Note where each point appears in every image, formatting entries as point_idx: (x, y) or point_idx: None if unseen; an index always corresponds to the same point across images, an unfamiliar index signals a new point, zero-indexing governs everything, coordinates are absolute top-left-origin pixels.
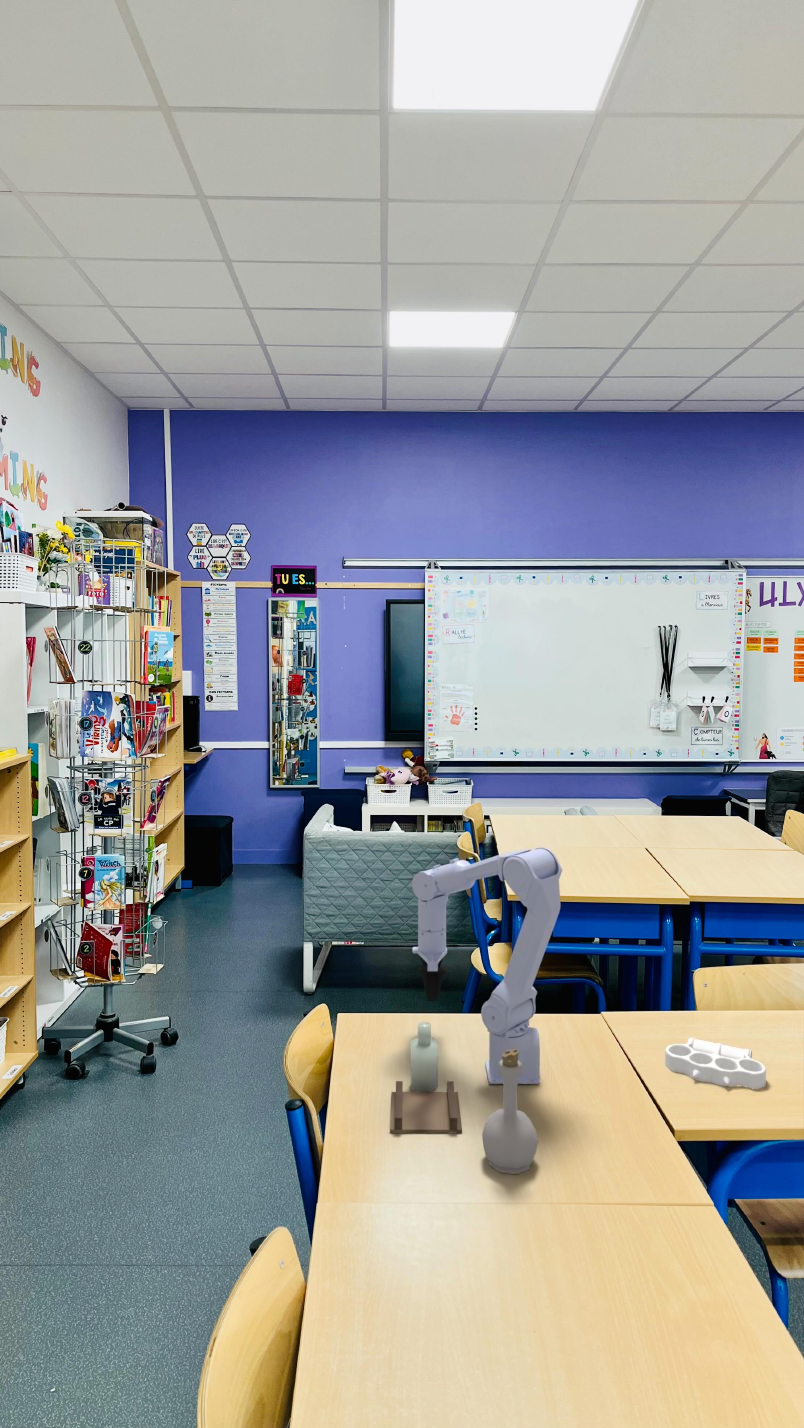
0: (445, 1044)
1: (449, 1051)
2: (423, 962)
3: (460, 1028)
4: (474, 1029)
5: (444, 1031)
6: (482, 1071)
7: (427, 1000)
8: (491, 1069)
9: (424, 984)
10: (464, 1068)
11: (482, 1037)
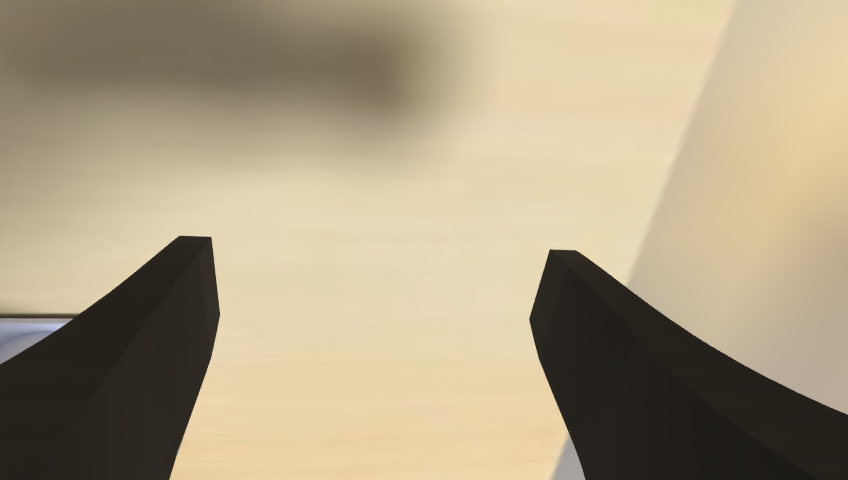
0: (342, 176)
1: (266, 188)
2: (688, 410)
3: (501, 252)
4: (480, 302)
5: (483, 184)
6: (84, 300)
7: (178, 239)
8: (5, 354)
9: (26, 350)
10: (95, 236)
11: (403, 323)
